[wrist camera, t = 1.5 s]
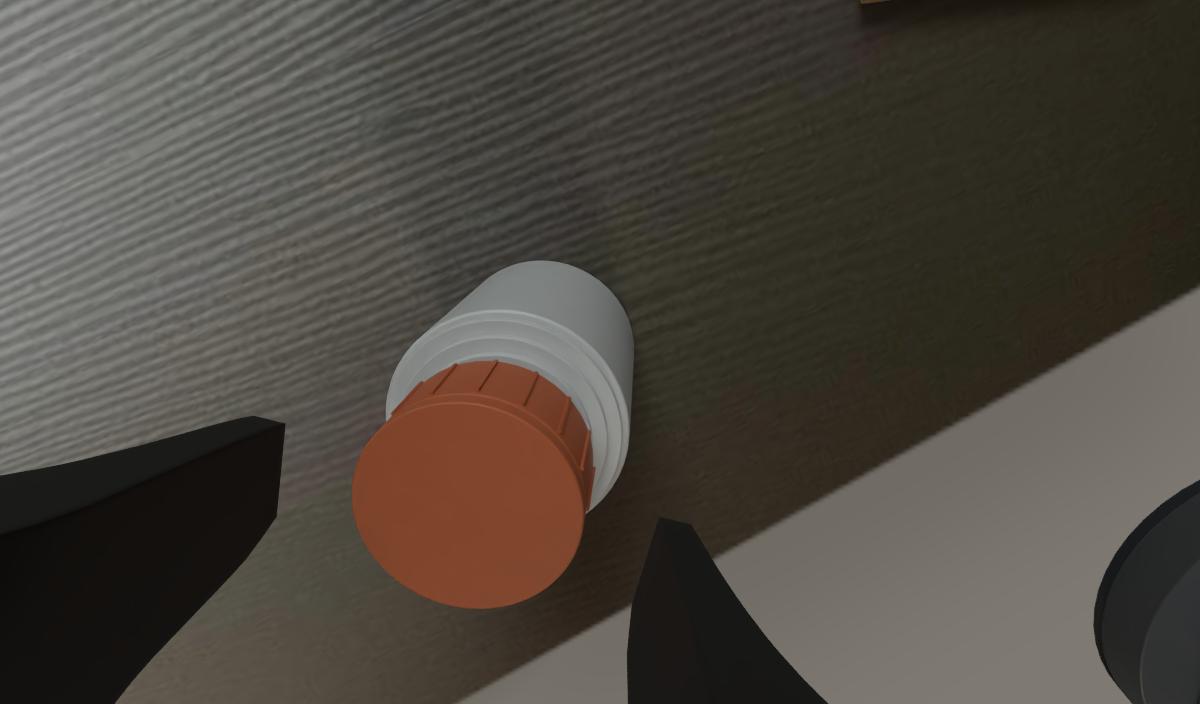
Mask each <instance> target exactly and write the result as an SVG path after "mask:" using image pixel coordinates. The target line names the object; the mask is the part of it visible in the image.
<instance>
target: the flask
mask: <svg viewBox="0 0 1200 704" xmlns="http://www.w3.org/2000/svg"><path fill="white" fill-rule="evenodd" d="M494 360H498V362H505V363H509V364H513V365H517V366H520V367H523V368H526V369H529V370H531V371H533V372H535V371H537V372H539V373H538V374H539V375H541V376H543V377H544V378H546V379H547V380H549V381H550V382H552V383H553V384H554V385H556V386H557V387H558V388H559V389H560V390H561V391H563V392H564V393H565V394H566V396H567V397H568V396H570V397H571V398H572V399H571V401H572V402H573V404H574V405H575V406H576V408H577V409H578V411H579V412H580V414H581V416H582V418H583V420H584V422H585V424H586V426H587V429H588V430H591V442H592V447H593V467H596V469H595V476H594V483H593V489H592V496H591V502H590V509H589V511H590V510H592V509H593V508H594V507H595V506H596V505H597V504H598V503H599V502H600V501H601V500H602V499H603V498H604V497H605V496H606V494H607V493H608V492H609V491H610V490H611V488H612V487H613V485H614V483H615V482H616V480H617V478H618V477H619V474H620V472H621V470H622V467H623V465H624V463H625V459H626V455H627V451H628V445H629V436H630V419H631V401H632V384H633V366H634V340H633V334H632V329H631V326H630V323H629V320H628V317H627V315H626V313H625V311H624V309H623V307H622V306H621V304H620V303H619V301H618V300H617V298H616V297H615V296H614V295H613V293H612V292H611V291H610V290H609V289H608V288H607V287H606V286H605V285H604V284H603V283H602V282H600V281H599V280H598V279H596V278H595V277H593V276H592V275H590V274H589V273H587V272H585V271H583V270H581V269H579V268H576V267H573V266H571V265H568V264H564V263H559V262H554V261H529V262H523V263H518V264H515V265H512V266H509V267H506V268H504V269H502V270H500V271H498V272H496V273H495V274H493V275H492V276H490V277H489V278H487V279H486V280H485V281H484V282H483V283H482V284H481V285H479V286H478V287H477V288H476V289H475V290H474V291H473V292H471V293H470V294H469V295H468V296H467V297H466V298H465V299H463V300H462V301H461V302H460V303H459V304H458V305H457V306H455V307H454V308H453V309H452V310H451V311H450V312H449V313H448V314H446V315H445V316H444V317H443V318H442V319H441V320H440V321H438V322H437V323H436V324H435V325H434V326H433V327H432V328H430V329H429V330H428V331H427V332H426V333H425V334H424V335H423V336H421V337H420V338H419V339H418V340H417V341H416V342H415V343H414V344H413V345H412V346H411V347H410V349H409V350H408V351H407V352H406V353H405V355H404V356H403V358H402V360H401V361H400V363H399V364H398V366H397V368H396V370H395V373H394V375H393V377H392V380H391V383H390V387H389V390H388V395H387V403H386V422H387V421H388V420H389V419H390V417H391V416H392V415H391V414H390V413H391V412H392V411H393V410H394V409H395V408H396V407H397V406H398V405H399V404H400V403H401V402H402V400H403V399H404V398H405V397H406V396H407V395H408V394H409V393H410V392H411V391H412V390H413V389H414V388H415V387H416V385H417V384H418V383H419V382H420V381H423V382H425V381H426V380H427V379H428V378H430V377H432V376H433V375H435V374H437V373H438V372H440V371H442V370H445V369H447V368H449V367H451V366H452V365H453V364H454V363H457V364H458V365H459V364H462V363H468V362H474V361H494ZM589 511H586V513H587V512H589Z"/></svg>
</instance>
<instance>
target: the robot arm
mask: <svg viewBox="0 0 1200 704" xmlns="http://www.w3.org/2000/svg"><path fill="white" fill-rule="evenodd" d="M284 434H285V423H281V422H277V421H273V420H268V419H264V418H260V417H256V416H250V417H244V418H240V419H235V420H231V421H227V422H223V423H219V424H216V425H212V426H208V427H205V428H201V429H198V430H194V431H191V432H187V433H183V434H180V435H176V436H173V437H169V438H166V439H162V440H158V441H155V442H151V443H148V444H144V445H140V446H136V447H132V448H128V449H124V450H120V451H116V452H112V453H108V454H104V455H100V456H96V457H92V458H88V459H84V460H79V461H75V462H70V463H66V464H61V465H56V466H51V467H46V468H41V469H36V470H30V471H24V472H19V473H13V474H7V475H1V476H0V704H115V702H116V701H117V700H118V699H119V697H120V696H121V695H122V693H123V692H124V691H125V690H126V688H127V687H128V686H129V685H130V683H131V682H132V681H133V680H134V678H135V677H136V676H137V675H138V674H139V673H140V672H141V671H142V669H143V668H144V667H145V666H146V665H147V664H148V663H149V662H150V660H151V659H152V658H153V657H154V656H155V655H156V654H157V653H158V652H159V651H160V650H161V649H162V648H163V646H164V645H165V644H166V643H167V642H168V641H169V640H170V639H171V638H172V637H173V636H174V635H175V634H176V633H177V632H178V631H179V630H180V629H181V628H182V627H183V626H184V625H185V623H186V622H187V621H188V620H189V619H190V618H191V617H192V616H193V615H194V614H195V613H196V612H197V611H198V610H199V609H200V608H201V607H202V606H203V605H204V604H205V603H206V602H207V600H208V599H209V598H210V597H211V596H212V595H213V594H214V593H215V592H216V591H217V590H218V589H219V588H220V587H221V586H222V585H223V584H224V583H225V581H226V580H227V579H228V578H229V577H230V576H231V575H232V574H233V573H234V572H235V571H236V570H237V569H238V568H239V566H240V565H241V564H242V563H243V562H244V561H245V560H246V558H247V557H248V556H249V554H250V553H251V552H252V550H253V549H254V548H255V546H256V545H257V544H258V542H259V541H260V540H261V538H262V537H263V535H264V534H265V532H266V531H267V530H268V528H269V527H270V525H271V524H272V522H273V521H274V519H275V518H276V517H277V507H278V496H279V486H280V475H281V465H282V455H283V444H284ZM627 679H628V704H828V703H827V702H826V701H825V700H824V699H823V698H822V697H821V696H820V695H818V693H817V692H816V691H815V690H814V689H813V688H812V687H811V686H810V685H809V684H808V683H807V682H806V681H805V680H804V679H803V678H802V677H801V676H800V675H799V674H798V673H797V671H796V670H795V669H794V668H793V667H792V666H791V665H790V664H789V663H788V661H787V660H786V659H785V658H784V657H783V656H782V655H781V654H780V653H779V652H778V650H777V649H776V648H775V647H774V646H773V644H772V643H771V642H770V641H769V640H768V638H767V637H766V636H765V635H764V633H763V632H762V631H761V629H760V628H759V627H758V625H757V624H756V623H755V621H754V620H753V619H752V618H751V616H750V615H749V614H748V612H747V611H746V610H745V608H744V607H743V605H742V604H741V603H740V601H739V600H738V598H737V597H736V596H735V594H734V592H733V591H732V590H731V588H730V586H729V585H728V583H727V582H726V580H725V579H724V577H723V576H722V575H721V573H720V571H719V570H718V568H717V566H716V565H715V563H714V561H713V560H712V558H711V557H710V555H709V553H708V552H707V550H706V548H705V547H704V545H703V543H702V542H701V540H700V538H699V537H698V535H697V533H696V532H695V530H694V529H693V527H692V525H690V524H686V523H682V522H678V521H674V520H670V519H666V518H662V517H659V520H658V523H657V526H656V529H655V532H654V536H653V539H652V542H651V545H650V548H649V552H648V555H647V558H646V561H645V564H644V568H643V571H642V574H641V577H640V580H639V584H638V587H637V590H636V593H635V596H634V600H633V603H632V609H631V619H630V628H629V639H628V649H627ZM1199 704H1200V702H1199Z"/></svg>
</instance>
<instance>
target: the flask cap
mask: <svg viewBox="0 0 1200 704" xmlns="http://www.w3.org/2000/svg"><path fill="white" fill-rule="evenodd" d="M538 373H539V372H537V371H535V372H533V371H531V370H529V369H526V368H523V367H520V366H517V365H513V364H509V363H505V362H498V360H494V361H474V362H468V363H462V364H459V365H458V364H457V363H454V364H453V365H452V366H451V367H449V368H447V369H445V370H442V371H440V372H438V373H437V374H435V375H433V376H432V377H430V378H428V379H427V380H426V381H425V382H423V381H420V382H419V383H418V384H417V385H416V387H415V388H414V389H413V390H412V391H411V392H410V393H409V394H408V395H407V396H406V397H405V398H404V399H403V400H402V402H401V403H400V404H399V405H398V406H397V407H396V408H395V409H394V410H393V411H392V412H391V413H390V414H391V415H392V416H391V417H390V419H389V420H388V421H387V422H386V423H385V424H384V425H383V426H382V427H381V428H380V429H379V430H378V432H377V433H376V434H375V435H374V436H373V437H372V438H371V440H370V441H369V442H368V444H367V445H366V447H365V448H364V450H363V451H362V453H361V456H360V458H359V460H358V462H357V465H356V469H355V472H354V476H353V483H352V507H353V513H354V518H355V521H356V524H357V528H358V531H359V533H360V535H361V537H362V539H363V541H364V543H365V545H366V547H367V548H368V550H369V551H370V553H371V554H372V556H373V557H374V558H375V559H376V561H377V562H378V563H379V564H380V566H381V567H382V568H383V569H384V570H385V571H387V572H388V573H389V574H390V575H391V576H392V577H393V578H394V579H396V580H397V581H398V582H400V583H401V584H402V585H404V586H405V587H407V588H409V589H410V590H412V591H413V592H415V593H417V594H419V595H421V596H424V597H426V598H428V599H430V600H433V601H436V602H439V603H442V604H446V605H450V606H455V607H461V608H470V609H489V608H498V607H503V606H508V605H512V604H515V603H518V602H521V601H524V600H526V599H528V598H530V597H532V596H534V595H536V594H538V593H540V592H541V591H543V590H544V589H546V588H547V587H549V586H550V585H551V584H552V583H553V582H554V581H555V580H556V579H558V578H559V577H560V576H561V574H562V573H563V572H564V571H565V570H566V568H567V567H568V566H569V564H570V562H571V561H572V559H573V557H574V556H575V554H576V551H577V549H578V546H579V544H580V541H581V537H582V533H583V528H584V521H585V515H586V511H589V509H590V502H591V496H592V489H593V483H594V476H595V469H596V467H593V447H592V442H591V430H588V429H587V426H586V424H585V422H584V420H583V418H582V416H581V414H580V412H579V411H578V409H577V408H576V406H575V405H574V404H573V402H572V401H571V399H572V398H571V397H570V396H568V397H567V396H566V394H565V393H564V392H563V391H561V390H560V389H559V388H558V387H557V386H556V385H554V384H553V383H552V382H550V381H549V380H547V379H546V378H544V377H543V376H541V375H539V374H538Z"/></svg>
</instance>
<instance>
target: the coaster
mask: <svg viewBox="0 0 1200 704" xmlns="http://www.w3.org/2000/svg"><path fill="white" fill-rule="evenodd" d="M881 1H889V0H860V3H861V4H866V3H874V2H881Z"/></svg>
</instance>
